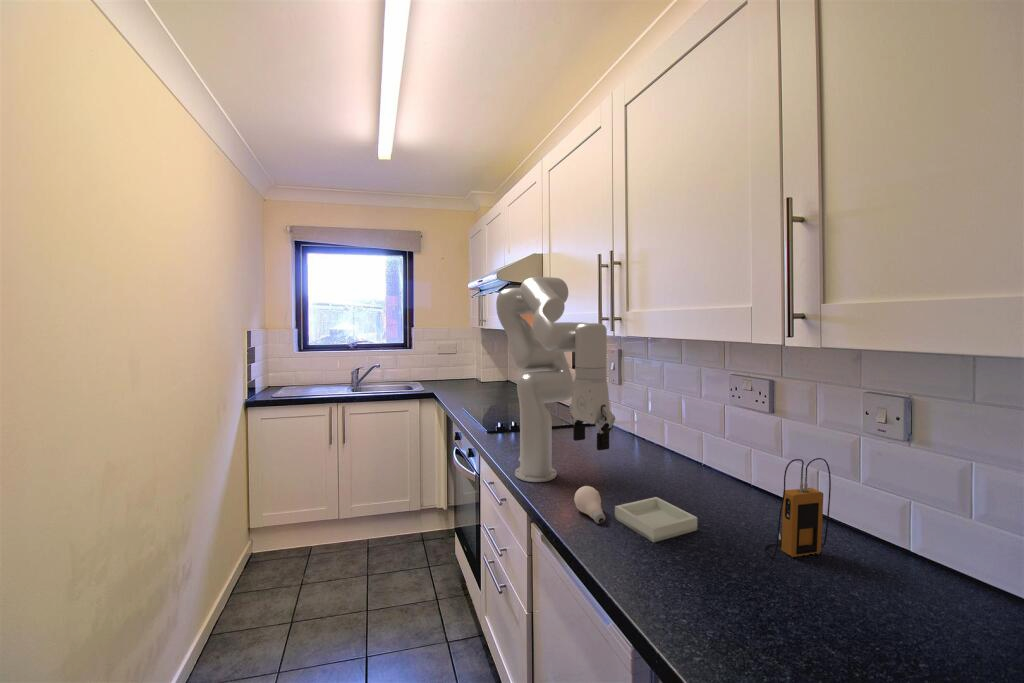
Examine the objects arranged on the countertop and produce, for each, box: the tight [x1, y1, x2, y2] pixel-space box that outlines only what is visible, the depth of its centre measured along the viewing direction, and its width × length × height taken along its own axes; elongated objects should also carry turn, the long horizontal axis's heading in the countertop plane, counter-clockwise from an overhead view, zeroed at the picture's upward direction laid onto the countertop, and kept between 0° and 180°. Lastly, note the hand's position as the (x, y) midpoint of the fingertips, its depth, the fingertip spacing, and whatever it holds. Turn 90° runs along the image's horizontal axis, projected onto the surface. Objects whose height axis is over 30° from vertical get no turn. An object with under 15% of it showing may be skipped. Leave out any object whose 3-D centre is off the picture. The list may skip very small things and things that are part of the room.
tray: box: [614, 496, 698, 543], centre depth 107 cm, size 13×13×3 cm
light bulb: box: [573, 485, 606, 525], centre depth 112 cm, size 7×7×11 cm
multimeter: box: [764, 457, 832, 559], centre depth 97 cm, size 15×10×20 cm
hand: (590, 444), depth 112 cm, fingers open, 9 cm apart
